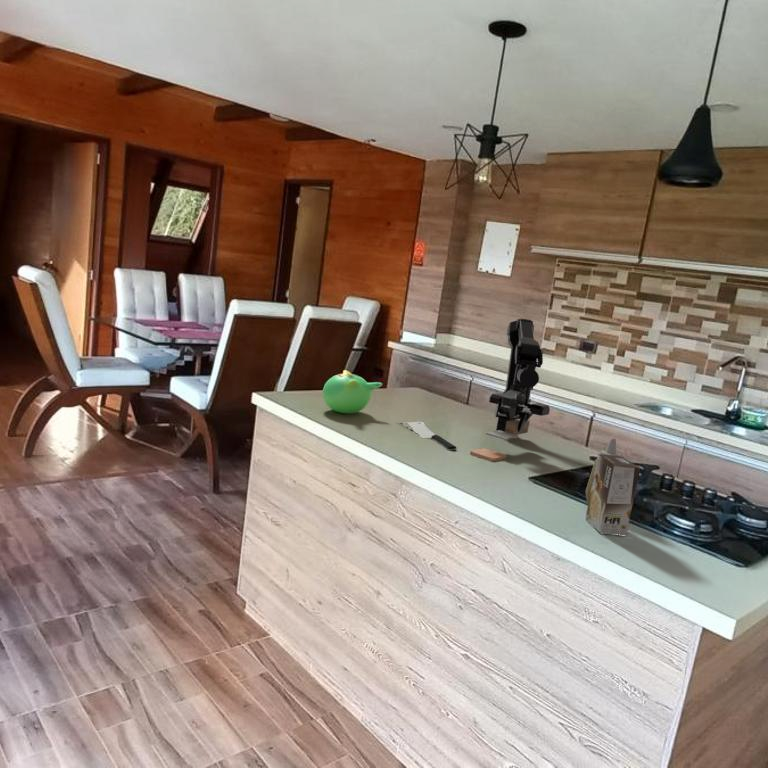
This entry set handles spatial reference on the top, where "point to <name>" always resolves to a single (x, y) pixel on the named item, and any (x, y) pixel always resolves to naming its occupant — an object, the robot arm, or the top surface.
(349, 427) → the top surface
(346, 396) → the toy bird
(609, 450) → the squeeze bottle
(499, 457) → the tile
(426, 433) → the kitchen cleaver
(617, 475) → the coffee box
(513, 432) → the turner
